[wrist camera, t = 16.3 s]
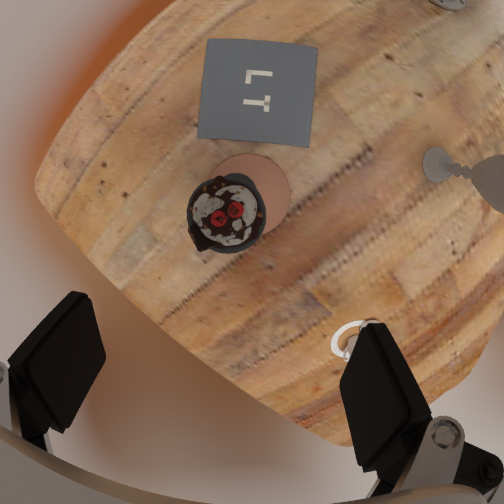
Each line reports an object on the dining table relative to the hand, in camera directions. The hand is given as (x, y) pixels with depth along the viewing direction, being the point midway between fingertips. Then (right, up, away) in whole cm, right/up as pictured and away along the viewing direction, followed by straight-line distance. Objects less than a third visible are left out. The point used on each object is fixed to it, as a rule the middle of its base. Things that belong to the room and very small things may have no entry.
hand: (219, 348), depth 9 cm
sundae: (-1, +10, +24) cm, 26 cm away
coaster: (+1, +10, +24) cm, 26 cm away
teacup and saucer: (+21, -11, +33) cm, 41 cm away
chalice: (+26, +15, +22) cm, 37 cm away
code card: (+2, +22, +19) cm, 29 cm away
